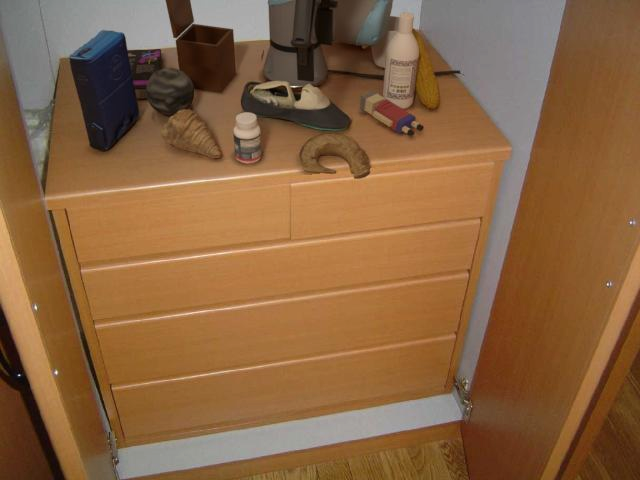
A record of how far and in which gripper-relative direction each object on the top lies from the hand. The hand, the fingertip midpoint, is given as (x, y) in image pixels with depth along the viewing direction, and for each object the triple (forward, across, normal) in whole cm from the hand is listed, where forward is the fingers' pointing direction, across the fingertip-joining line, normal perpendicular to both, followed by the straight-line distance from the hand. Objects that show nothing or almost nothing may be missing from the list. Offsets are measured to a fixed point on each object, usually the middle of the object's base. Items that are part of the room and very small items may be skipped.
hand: (315, 61), depth 117 cm
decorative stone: (+21, -8, -34) cm, 41 cm away
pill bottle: (+21, +3, -13) cm, 25 cm away
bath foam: (+22, -26, +12) cm, 36 cm away
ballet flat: (+21, -13, -8) cm, 26 cm away
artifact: (+20, -1, -3) cm, 20 cm away
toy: (+21, -14, +18) cm, 31 cm away
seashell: (+20, +3, -25) cm, 32 cm away
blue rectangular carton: (+20, +3, -42) cm, 47 cm away
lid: (+4, -25, -37) cm, 44 cm away
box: (+21, -19, -50) cm, 57 cm away
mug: (+22, -43, +7) cm, 49 cm away
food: (+19, -27, +23) cm, 41 cm away
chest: (+21, -24, -32) cm, 45 cm away
